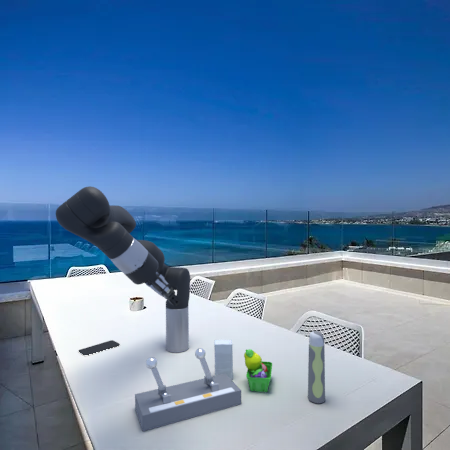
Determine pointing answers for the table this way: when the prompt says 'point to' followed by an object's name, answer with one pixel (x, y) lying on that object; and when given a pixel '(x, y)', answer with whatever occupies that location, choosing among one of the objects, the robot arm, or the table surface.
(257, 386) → the fruit basket
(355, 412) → the table surface
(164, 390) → the switch near
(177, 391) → the switch console
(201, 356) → the switch far
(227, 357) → the skincare box
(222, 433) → the table surface
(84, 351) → the phone
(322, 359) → the camo grip handle
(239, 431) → the table surface
